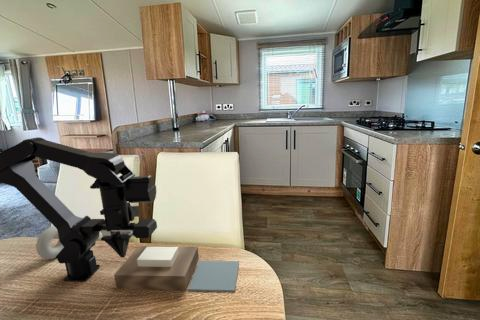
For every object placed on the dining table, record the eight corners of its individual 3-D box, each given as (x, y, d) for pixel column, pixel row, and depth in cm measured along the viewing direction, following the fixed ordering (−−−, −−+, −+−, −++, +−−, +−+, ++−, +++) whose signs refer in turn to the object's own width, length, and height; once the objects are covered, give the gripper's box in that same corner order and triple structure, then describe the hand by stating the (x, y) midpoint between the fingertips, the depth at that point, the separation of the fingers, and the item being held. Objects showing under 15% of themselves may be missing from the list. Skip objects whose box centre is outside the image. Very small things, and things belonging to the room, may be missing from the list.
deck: (116, 288, 65) (113, 275, 64) (140, 258, 77) (138, 246, 76) (186, 290, 63) (184, 276, 62) (198, 258, 76) (197, 246, 75)
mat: (188, 290, 63) (188, 289, 63) (199, 261, 74) (199, 260, 74) (234, 291, 62) (234, 290, 62) (238, 262, 73) (238, 261, 73)
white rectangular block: (137, 266, 67) (136, 259, 66) (147, 253, 73) (146, 246, 72) (171, 266, 66) (170, 260, 66) (178, 253, 72) (178, 246, 71)
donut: (45, 266, 75) (37, 235, 73) (37, 265, 76) (29, 234, 74) (76, 248, 84) (70, 220, 82) (68, 246, 85) (62, 219, 83)
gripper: (161, 191, 74) (167, 241, 77) (99, 192, 75) (108, 240, 79) (144, 207, 63) (151, 264, 66) (72, 207, 64) (83, 263, 68)
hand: (123, 256), depth 70 cm, fingers closed
